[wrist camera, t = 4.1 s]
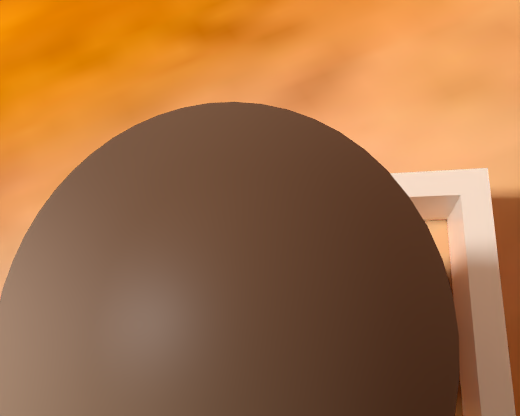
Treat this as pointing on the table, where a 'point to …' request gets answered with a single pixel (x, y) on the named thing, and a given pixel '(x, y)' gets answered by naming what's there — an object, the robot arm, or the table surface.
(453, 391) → the pepper mill
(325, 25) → the table surface
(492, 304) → the holder
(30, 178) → the table surface
